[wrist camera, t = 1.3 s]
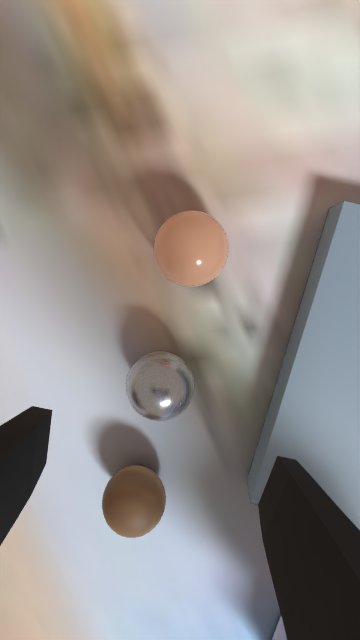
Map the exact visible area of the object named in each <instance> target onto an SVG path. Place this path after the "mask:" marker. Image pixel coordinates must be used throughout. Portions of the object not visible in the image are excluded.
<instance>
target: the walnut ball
mask: <svg viewBox="0 0 360 640" xmlns="http://www.w3.org/2000/svg"><path fill="white" fill-rule="evenodd" d="M165 503H166V495H165V489H164V486H163V483H162V481H161V480H160V478H159V477H158V475H157V474H156V473H155V472H154V471H152V470H151V469H149V468H147V467H144V466H140V465H133V466H128V467H125V468H123V469H121V470H120V471H118V472H117V473H116V474H115V475H114V476H113V477H112V478H111V479H110V481H109V482H108V484H107V486H106V488H105V491H104V494H103V500H102V508H103V514H104V517H105V520H106V522H107V524H108V525H109V526H110V528H111V529H112V530H113V531H114V532H116V533H117V534H119V535H121V536H124V537H129V538H135V537H140V536H143V535H145V534H147V533H148V532H150V531H151V530H152V529H153V528H154V527H155V526H156V525H157V524H158V522H159V521H160V519H161V517H162V515H163V512H164V509H165Z"/></svg>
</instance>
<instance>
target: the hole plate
mask: <svg viewBox="0 0 360 640" xmlns="http://www.w3.org/2000/svg"><path fill="white" fill-rule="evenodd" d="M277 456H281V457H286V458H291V459H296V460H297V461H298V462H299V463H300V464H301V465H302V466H303V468H304V469H305V470H306V471H307V472H308V473H309V474H310V475H311V476H312V478H313V479H314V480H315V481H316V482H317V483H318V484H319V485H320V487H321V488H322V489H323V490H324V491H325V492H326V493H327V495H328V496H329V497H330V498H331V499H332V500H333V501H334V502H335V504H336V505H337V506H338V507H339V508H340V509H341V510H342V511H343V512H344V514H345V515H346V516H347V517H348V518H349V519H350V520H351V521H352V522H353V523H354V525H355V526H356V527H357V528H358V529H359V530H360V204H356V203H352V202H347V201H343V202H341V203H339V204H337V205H335V206H333V207H330V209H329V212H328V215H327V218H326V222H325V225H324V228H323V232H322V235H321V238H320V242H319V245H318V248H317V251H316V255H315V258H314V261H313V265H312V268H311V271H310V274H309V278H308V281H307V284H306V288H305V291H304V294H303V297H302V301H301V304H300V307H299V311H298V314H297V317H296V320H295V324H294V327H293V330H292V334H291V337H290V340H289V343H288V347H287V350H286V353H285V357H284V360H283V363H282V366H281V370H280V373H279V376H278V380H277V383H276V386H275V389H274V393H273V396H272V399H271V403H270V406H269V409H268V412H267V416H266V419H265V422H264V426H263V429H262V432H261V435H260V439H259V442H258V445H257V449H256V452H255V455H254V458H253V462H252V465H251V468H250V472H249V475H248V478H247V485H248V491H249V498H250V503H254V504H257V505H258V504H259V501H260V498H261V496H262V493H263V491H264V488H265V486H266V483H267V481H268V478H269V476H270V473H271V471H272V468H273V465H274V463H275V460H276V458H277Z"/></svg>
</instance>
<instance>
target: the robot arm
mask: <svg viewBox="0 0 360 640" xmlns="http://www.w3.org/2000/svg"><path fill="white" fill-rule="evenodd" d="M51 416H52V410H49V409H44V408H39V407H34V406H32V407H30V408H29V409H27V410H25V411H24V412H22V413H20V414H19V415H17V416H16V417H14V418H12V419H11V420H9V421H8V422H6V423H4V424H3V425H1V426H0V545H1V544H2V542H3V541H4V539H5V537H6V536H7V534H8V532H9V531H10V529H11V528H12V526H13V524H14V523H15V521H16V519H17V518H18V516H19V514H20V513H21V511H22V509H23V508H24V506H25V505H26V503H27V501H28V499H29V498H30V496H31V494H32V492H33V490H34V488H35V486H36V484H37V482H38V480H39V477H40V475H41V473H42V471H43V469H44V467H45V464H46V460H47V451H48V443H49V434H50V425H51ZM258 506H259V515H260V524H261V531H262V538H263V543H264V547H265V551H266V556H267V560H268V564H269V568H270V572H271V576H272V580H273V584H274V588H275V592H276V596H277V600H278V604H279V608H280V612H281V616H280V619H279V621H278V624H277V627H276V630H275V632H274V635H273V638H272V640H360V530H359V529H358V528H357V527H356V526H355V525H354V523H353V522H352V521H351V520H350V519H349V518H348V517H347V516H346V515H345V514H344V512H343V511H342V510H341V509H340V508H339V507H338V506H337V505H336V504H335V502H334V501H333V500H332V499H331V498H330V497H329V496H328V495H327V493H326V492H325V491H324V490H323V489H322V488H321V487H320V485H319V484H318V483H317V482H316V481H315V480H314V479H313V478H312V476H311V475H310V474H309V473H308V472H307V471H306V470H305V469H304V468H303V466H302V465H301V464H300V463H299V462H298V461H297V460H296V459H291V458H286V457H281V456H277V458H276V460H275V463H274V465H273V468H272V471H271V473H270V476H269V478H268V481H267V483H266V486H265V488H264V491H263V493H262V496H261V498H260V501H259V504H258Z"/></svg>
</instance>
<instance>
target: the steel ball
mask: <svg viewBox="0 0 360 640" xmlns="http://www.w3.org/2000/svg"><path fill="white" fill-rule="evenodd" d="M126 391H127V396H128V399H129V402H130V403H131V405H132V406H133V408H134V409H135V410H136V411H137V412H138V413H139V414H140V415H142V416H144V417H146V418H148V419H151V420H157V421H162V420H168V419H172V418H174V417H176V416H178V415H179V414H181V413H182V412H183V411H184V410H185V409H186V408H187V406H188V405H189V403H190V401H191V399H192V396H193V393H194V378H193V374H192V372H191V370H190V368H189V366H188V365H187V363H186V362H185V361H184V360H183V359H182V358H180V357H179V356H177V355H175V354H173V353H170V352H166V351H155V352H151V353H148V354H146V355H144V356H142V357H141V358H139V359H138V360H137V361H136V362H135V363H134V365H133V366H132V367H131V369H130V371H129V373H128V376H127V381H126Z"/></svg>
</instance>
